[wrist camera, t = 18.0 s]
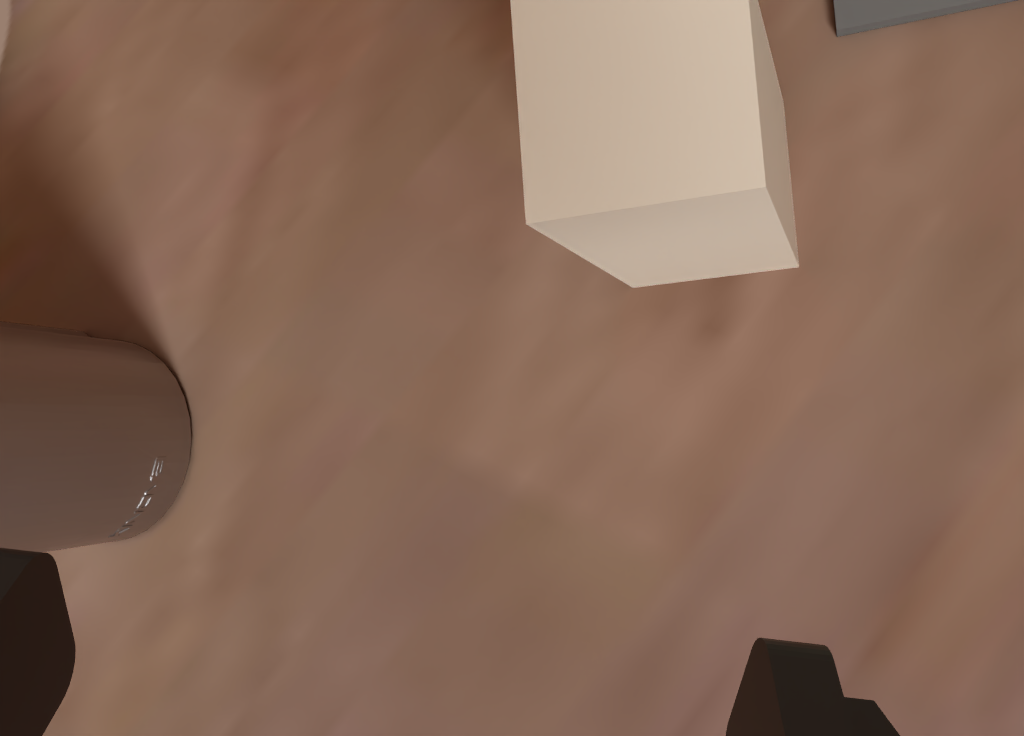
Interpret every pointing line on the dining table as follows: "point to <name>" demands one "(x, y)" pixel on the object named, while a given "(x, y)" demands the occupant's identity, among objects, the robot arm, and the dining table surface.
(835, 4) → the slate mat
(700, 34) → the cream block
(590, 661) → the dining table surface
